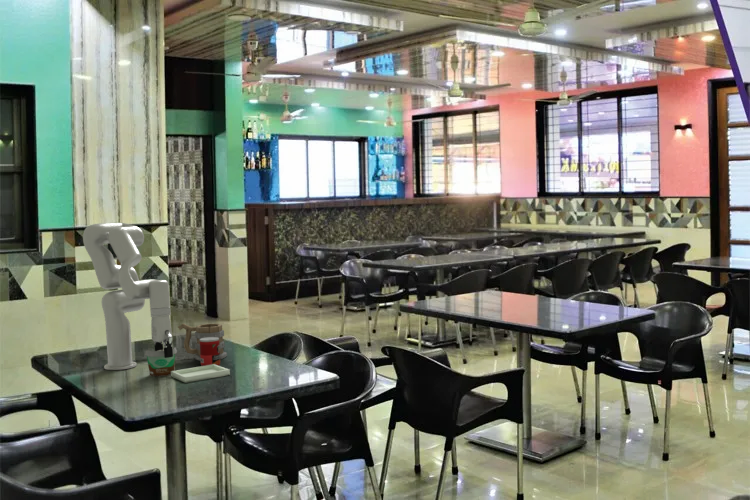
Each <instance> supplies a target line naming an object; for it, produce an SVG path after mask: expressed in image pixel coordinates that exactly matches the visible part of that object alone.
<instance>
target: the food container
mask: <svg viewBox="0 0 750 500" xmlns="http://www.w3.org/2000/svg"><path fill="white" fill-rule="evenodd" d="M172 350H173V357H169V358H165V357H164V349H163V350H157V351H155V350H148V349H146V350H145V353H144V356H146V360H147V365H148V373H149V376H152V377H166V376H171V371H175V369H176V368H175V367H176V366H175V365H176V364H175V363H176V354H177V353H178V350H177V347H174V348H173V347H172Z"/></svg>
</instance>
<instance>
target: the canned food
mask: <svg viewBox="0 0 750 500" xmlns="http://www.w3.org/2000/svg"><path fill="white" fill-rule="evenodd" d="M200 359H201V361H200V365H201V366H206V365H212V364H215V365H218V366H221V359H220V345H219V338H218V337H206V338H201V339H200Z"/></svg>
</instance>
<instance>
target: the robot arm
mask: <svg viewBox="0 0 750 500" xmlns="http://www.w3.org/2000/svg"><path fill="white" fill-rule="evenodd" d="M82 241H83V245H84V248H85V250H86V252H87V254H88V256H89V257H90V259H91V263H92V265H93V270H94V272H95V275H96V279H97V280H98V284H99V286H100V287H101V288H102V289H104V290H112V291H109V292H106V293H105V294H104V295H103V296H102V298H101V308H102V311H103V315H104V321H105V335H106V352H107V355H106V356H107V363H106V364H105V365H104V367H103V368H104V369H105V370H108V371H121V370H128V369H133V368H134V367H137V362H136V361H133V353H132V351H133V350H132V349H133V348H132V336H131V335H132V333H131V332H132V331H131V322H130V321H129V319H128V317H127V316H126V315H125V314H126V313H130V312H137V311H140V310H142V309H143V308H144V307H145V303H146V301H145V300H149V308H150V310H149V311H150V317H151V322H150V323H151V324H150V326H151V328H150V329H151V340H152V341H153V344H154V351H157V350H164V357H165V358H169V357H173V350H172V349H173V331H172V322H171V317H170V316H171V315H172V313H171V298H170V297H171V296H170V285H169V281H168V280H166V279H156V278H155V279H154V278H151V279H141V280H140V279H139V275H138V272H137V271H136V269H135V268H134V267H136V266H137V265H138V264H139V263H140V262H141V260H142V259H143V258H142V254H141V253H140V250H139V249H138V247H140V246H142V245H143V243H144V242H145V235H144V232H143V230H142V229H141V228H140V227H138V226H137V225H134V224H133V225H132V224H129V223H125V222H101V223H100V222H99V223H93V224H90V225H87V226H86V228H84V231H83V234H82ZM105 244H106V245H107V244H110V246H111V249H112V251H113V252H114V254H115V256H116V257H117V259H118V262H119V263H120V264H117V263H116V261H115V258H114V254H112V252H111V251H110V249H108V248H107V247H106V246H104V245H105ZM113 289H117V290H113Z"/></svg>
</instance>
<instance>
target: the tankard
mask: <svg viewBox="0 0 750 500" xmlns="http://www.w3.org/2000/svg"><path fill="white" fill-rule="evenodd" d="M177 328H178V330H179V331H181V330H183V329H184V330H185V337H184V341H183V347H184V349H185V352H186V353H187V354H191V355H194V356H193V358H194V359H195V360H196V361H199V362H201V359H200V339H201V338H206V337H218V338H219V345H220V360H223V359H225V358H226V357H227V356H228V352H226V351H224V348H225V346H226V344H225V341H224V338H223V337H224V336H225V331H224V329H223V324H221V323H203V324H199V325H196V326H191V325H188V324H186V323H181V324H180V325H179V326H177ZM192 332H194V338H195V339H196V343H195V348H191V346H190V342H191V339H192Z"/></svg>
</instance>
